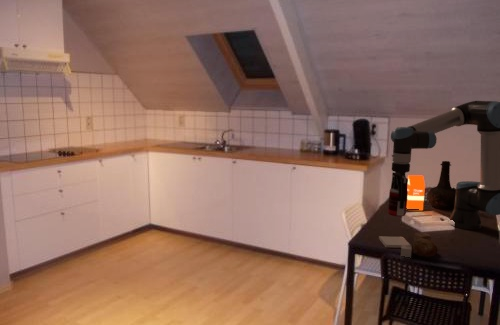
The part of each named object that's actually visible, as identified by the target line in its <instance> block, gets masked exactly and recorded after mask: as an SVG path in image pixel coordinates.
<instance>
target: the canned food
mask: <svg viewBox="0 0 500 325" xmlns="http://www.w3.org/2000/svg"><path fill="white" fill-rule="evenodd" d="M388 195H389V196H388V207H387V208H388V209H387V213H388V215H390V216H393V217H398V216H397V206H398V201H397V200H399V191H398V189H394V188H393V189H391V188H390V189H389V194H388ZM407 196H408V191H407ZM406 207H407V201H405V204H404V216H403V217H405V216H406V214H407V209H406Z"/></svg>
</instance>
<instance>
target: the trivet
mask: <svg viewBox="0 0 500 325" xmlns="http://www.w3.org/2000/svg"><path fill="white" fill-rule="evenodd" d="M378 240H380V242H381V243H382V244H383V246H384V247H385V248H395V249H397V248H398V249H399V248H400V249H401V247H402V245H406V246H412V244H410V242H408V240H406V238H404V237H403V236H380V235H378Z"/></svg>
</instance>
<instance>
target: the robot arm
mask: <svg viewBox="0 0 500 325" xmlns="http://www.w3.org/2000/svg"><path fill="white" fill-rule="evenodd" d="M465 125H466V126H467V125H471V126H472V125H473V126H476V132H477V133H479V134H480V178H479V179H480V181H473V180H471V181H468V180H467V181H459V182H457V183H456V186H455V187H456V188H455V189H456V191H455V203H454V208H453V210H452V212H451V214H450V216H449V218H448V220H449V219H450V220H453V221H454V222H455V226H454V227H455V228H458V229H463V230H480V229H481V228H482V221H481V216H480V211H481V212H484V213H486V214H487V215H494V216H499V215H500V101H496V100H494V101H493V100H492V101H491V100H472V101H469V102H465V103H463V104H460V105H457V106H454V107H452V108H450V110H449V111H447V112H445V113H442V114H439V115H436V116H434V117H431V118H428V119H426V120H422V121H421V122H417V123H415V124H412V125H409V126H397V127H396V128H394V129H393V130H392V131H391V133H390V140H391V141H392V143H393V146H392V147H393V150H392V154H391V157H392V163H391V171H392V177H391V184H390V189H393V188H394V189H398V191H399V200H397V201H398V206H397V216H396V217H405V216H404V204H405V201H407V185H408V177H407V176H406V173H410V170H411V169H410V168H411V164H410V163H411V160H412V150H414V149H415V150H420V149H422V150H423V149H424V150H427V149H432V148H434V147H435V146H436V144H437V135H436V134H438V133H440V132H442V131H445V130H448V129H450V128H453V127H462V126H465Z"/></svg>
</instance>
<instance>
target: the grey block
mask: <svg viewBox="0 0 500 325" xmlns="http://www.w3.org/2000/svg"><path fill="white" fill-rule="evenodd" d="M411 250H412V245H411V246H406V245H402V247H401V248H400V257H401V256H405V257H410V258H411V259H412V251H411ZM410 258H409V259H410Z"/></svg>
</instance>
